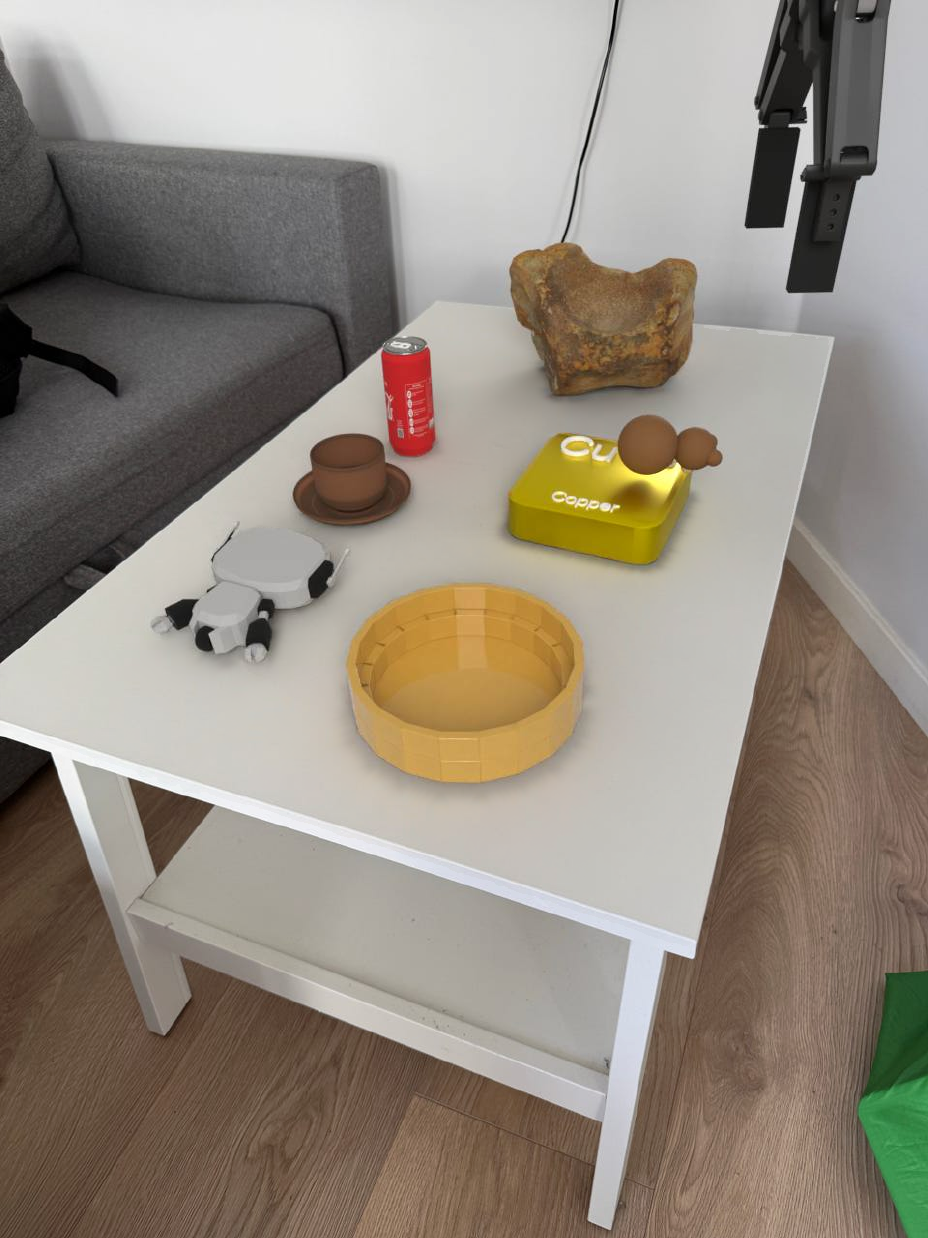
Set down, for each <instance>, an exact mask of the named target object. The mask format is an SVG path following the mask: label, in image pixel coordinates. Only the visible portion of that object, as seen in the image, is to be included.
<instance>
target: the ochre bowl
mask: <svg viewBox="0 0 928 1238" xmlns="http://www.w3.org/2000/svg"><path fill="white" fill-rule="evenodd" d="M583 645H584V644H583V641H582V638H581V637H580V635H579V633H578V632H577V630H576V629H575V626H574V624H573V623H572V622H571V620H570V619H569V618H568V617H567V616H565V615H564V614H563V613H562V612H561V611H559V610H558V609H557V608H556V607H555V606H553V605H552V604H551V603H550V602H548V601H547V600H544V599H543V598H540V597H538V596H535V595H533V594H531V593H528V592H527V591H524V590H522V589H518V588H514V587H508V586H503V585H498V584H493V583H487V582H485V583H484V582H454V583H447V584H442V585H438V586H431V587H427V588H421V589H418V590H416V591H413V592H411V593H408V594H406V595H404V596H401V597H398V598H397V599H394V600H391V601H390V602H389V603H387V604H386V605H384V606H383V607H382V608H380V609H379V610H378V611H376V612H375V613H374V614H372V615H371V616H369V617H368V618H367V619H366V620H365V621H364V622H363V624H362V626H361V627H360V629H358V631H357V633H356V634H355V635H354V637H353V638H352V640H351V641H350V645H349V649H348V654H347V660H346V663H345V669H346V674H347V675H346V676H347V681H348V688H349V694H350V701H351V707H352V712H353V715H354V721H355V724H356V727H357V731H358V733H359V735H360V736H361V737H362V738H363V739H364V741H365V742H366V744H367V745H368V747H370V749H371V750H372V751H373V753H375V755H376V756H378V757H379V758H381V759H383V761H385V762H388V764H390V765H392V766H394V767H396V768H397V769H398V770H400V771H402V772H404V773H406V774H410V775H413V776H417V777H421V778H425V779H428V780H431V781H435V782H439V783H473V784H475V783H477V784H478V783H479V784H480V783H486V782H489V781H493V780H498V779H503V778H507V777H511V776H516V775H519V774H521V773H523V772H525V771H526V770H528V769H531V768H532V767H535V766H536V765H538V764H539V763H542V762H543V761H545V760H548V759H549V758H550V757H552V756H553V755H554V753H556V752H557V751H558V749H560V748H561V746H562V745H563V744H564V743H565V742H566V741H567V740H568V739H569V738H570V737H571V736H572V734H573V732H574V729H575V727H576V724H577V722H578V719H579V717H580V715H581V712H582V710H583V709H582V708H583V694H584V676H585V659H584V657H585V656H584V647H583Z"/></svg>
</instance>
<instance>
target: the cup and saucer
mask: <svg viewBox="0 0 928 1238" xmlns="http://www.w3.org/2000/svg"><path fill="white" fill-rule="evenodd" d="M385 453H386V452H385V445H384V444H383V442H382V441H381V440H380V439H378V438H377V437H375V436H373V435H369V434H365V433H355V432H353V433H351V432H350V433H340V434H336V435H332V436H329V437H326V438H323V439H322V440H320V441H318V442H317V443H315V444H314V445H313V446H312V448H311V449H310V451H309V458H310V464H311V470H310V471H309V472H307V473H306V474H304V475H303V476H302V477H301V478H299V479H298V480H297V482H295V485H294V486H293V489H292V499H293V502H294V504H295V506H296V508H297V509H298V511H300V513H302V514H303V515H305V516H306V517H308V518H310V519H312V520H314V521H317V522H319V523H323V524H327V525H333V526H358V525H365V524H368V523H372V522H375V521H378V520H381V519H383V518H386V517H387V516H389V515H392V514H393V513H394V512H396V511H397V510H398V509H399V508H400V507H402V505H404V504H405V502H406V501H407V500H408V498H409V496H410V493H411V489H412V483H411V478H410V476H409V475H408V474H407V473H406V471H404V470H403V469H402V468H400V467H399V466H397V465H395V464H392V463H391V462H386V454H385Z"/></svg>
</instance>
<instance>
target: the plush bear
mask: <svg viewBox="0 0 928 1238" xmlns="http://www.w3.org/2000/svg"><path fill="white" fill-rule="evenodd" d="M617 441H618V453H619V456H620V459H621V461H622V462H623V464H624V465H625V466H626V467H627V468H628V469H629V470H631V471H633V472H635V473H637V474H641V475H653V474H657V473H659V472H661V471H663V470H665V469H666V468H667V467H668V466H669V465H670V464H671V463H672V462H673V460H674V459H675V460H676V462H677V463H678V464H679V465H680V468H681V470H682V471H683V472H684V473H691V472H692V473H693V472H694V471H699V470H703V469H704V468H706V467H708V466H709V467H712V468H715V467H717V466H719V465H720V464H722V462H723V458H724V456H723V453H722V452H721V450H718V449H717V446H718V444H719V440H718V438H717V436H716V435H715V434H713V433H711V432H710V431H709V430H707V429H706V428H703V427H699V426H691V427H688V428H686V429H683V430H682V431H680V432H679V433H677V430H676V429H675V427H674V426H673V424H672V423H671V422H669V420H668V419H666V418H664V417H662V416H659V415H657V414H642V415H639V416H636V417H634V418H632V419H630V420H629V421H628V422H627V423H626V424H625V425H624V427H623V428H622V430H621V431H620V433H619V436H618V440H617Z"/></svg>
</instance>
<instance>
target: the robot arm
mask: <svg viewBox="0 0 928 1238" xmlns="http://www.w3.org/2000/svg"><path fill="white" fill-rule="evenodd" d="M891 4H892V0H779V2H778V6H777V9H776V15H775V18H774V23H773V26H772V31H771V34H770V39H769V42H768V46H767V50H766V55H765V57H764V62H763V65H762V69H761V74H760V77H759V82H758V86H757V89H756V94H755V96H754V99H753V105H754V110H755V111H758V112H757V120H758V125H759V126H763V127H758V131H757V137H756V138H757V139H756V144H755V152H754V158H753V165H752V171H751V177H750V185H749V192H748V199H747V205H746V212H745V219H744V227H745V229H746V230H747V229H784V228H785V222H786V217H787V211H788V204H789V198H790V193H791V187H792V183H793V176H794V172H795V171H794V170H795V164H796V158H797V153H798V148H799V142H800V136H801V131H802V129H801V127H799V126H790V125H806V124H807V123H808V110H807V106H804V105H805V102H806V100H807V98H808V95H809V92H810V90H811V88H812V160H813V164H806V165H805V167H804V169H803V170H802V171H801V174H800V175H799V180H800V182H801V183H804V187H803V191H802V196H801V197H802V198H801V202H800V207H799V212H798V219H797V224H796V230H795V235H794V241H793V247H792V252H791V258H790V263H789V269H788V275H787V279H786V284H785V290H786V292H787V294H811V293H812V294H818V293H819V294H820V293H822V294H823V293H824V294H825V293H827V294H829V293H833V292H834V288H835V284H836V279H837V275H838V269H839V265H840V261H841V256H842V251H843V246H844V242H845V238H846V233H847V227H848V225H849V224H848V223H849V218H850V214H851V209H852V205H853V201H854V197H855V191H856V187H857V186H856V185H857V181H861V179H862V177H871V176H873V175H874V174H875V172H876V170H877V166H878V151H879V141H880V139H879V138H880V129H881V128H880V125H881V112H882V103H883V101H882V100H883V89H884V77H885V75H884V74H885V64H886V63H885V61H886V52H887V51H886V50H887V39H888V38H887V37H888V25H889V16H890V10H891V6H892V5H891Z"/></svg>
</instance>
